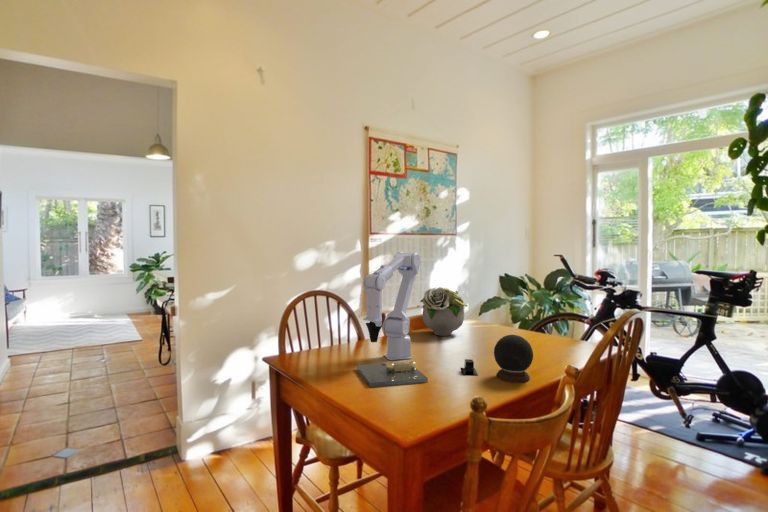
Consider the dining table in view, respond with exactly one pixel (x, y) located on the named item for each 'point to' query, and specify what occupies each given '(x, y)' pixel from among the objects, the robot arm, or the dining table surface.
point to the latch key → (400, 366)
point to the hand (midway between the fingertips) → (373, 341)
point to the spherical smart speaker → (513, 358)
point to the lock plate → (389, 376)
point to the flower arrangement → (443, 310)
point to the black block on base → (469, 368)
